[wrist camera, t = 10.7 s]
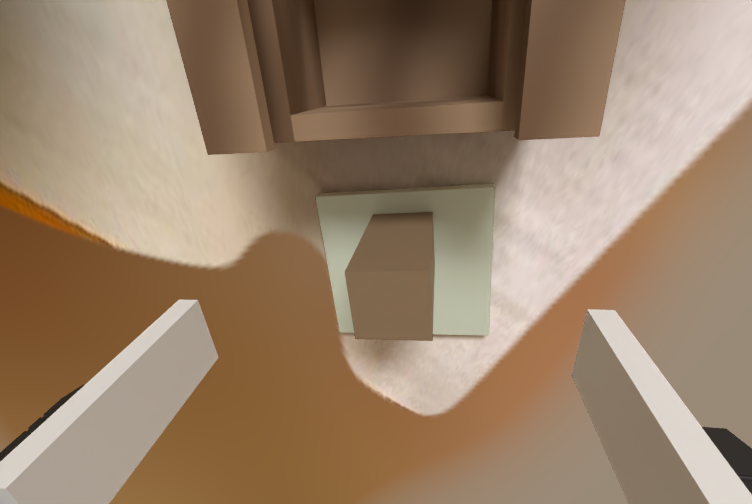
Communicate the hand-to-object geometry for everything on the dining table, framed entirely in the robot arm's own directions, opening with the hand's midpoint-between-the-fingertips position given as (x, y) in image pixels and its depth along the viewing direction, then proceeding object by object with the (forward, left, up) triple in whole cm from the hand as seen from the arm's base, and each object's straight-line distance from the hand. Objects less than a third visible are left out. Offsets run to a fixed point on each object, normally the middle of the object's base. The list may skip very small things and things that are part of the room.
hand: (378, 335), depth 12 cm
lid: (0, -3, -11) cm, 11 cm away
